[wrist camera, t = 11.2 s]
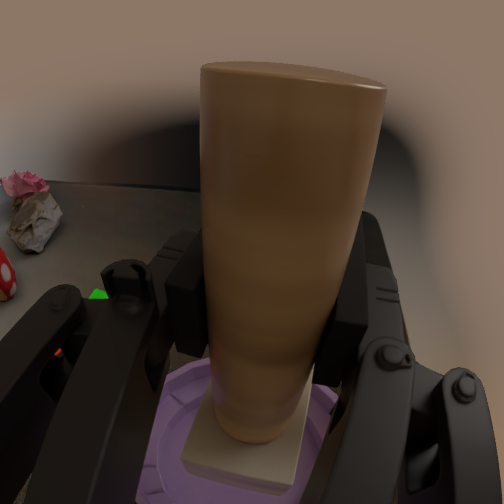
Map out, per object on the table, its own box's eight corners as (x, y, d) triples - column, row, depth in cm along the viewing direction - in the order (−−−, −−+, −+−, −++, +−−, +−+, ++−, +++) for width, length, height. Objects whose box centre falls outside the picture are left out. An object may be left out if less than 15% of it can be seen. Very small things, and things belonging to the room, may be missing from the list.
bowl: (350, 399, 26) (366, 374, 23) (322, 569, 13) (340, 573, 10) (180, 362, 29) (173, 333, 26) (110, 513, 16) (87, 505, 13)
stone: (57, 199, 37) (-5, 225, 33) (71, 245, 41) (13, 268, 37) (54, 178, 45) (3, 199, 40) (65, 216, 49) (16, 236, 44)
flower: (48, 206, 57) (63, 167, 54) (37, 235, 50) (51, 193, 46) (5, 187, 51) (17, 147, 47) (-12, 214, 44) (-1, 170, 40)
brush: (224, 375, 17) (226, 57, 8) (303, 393, 16) (391, 79, 7) (187, 473, 12) (65, 89, 3) (281, 497, 11) (492, 138, 2)
